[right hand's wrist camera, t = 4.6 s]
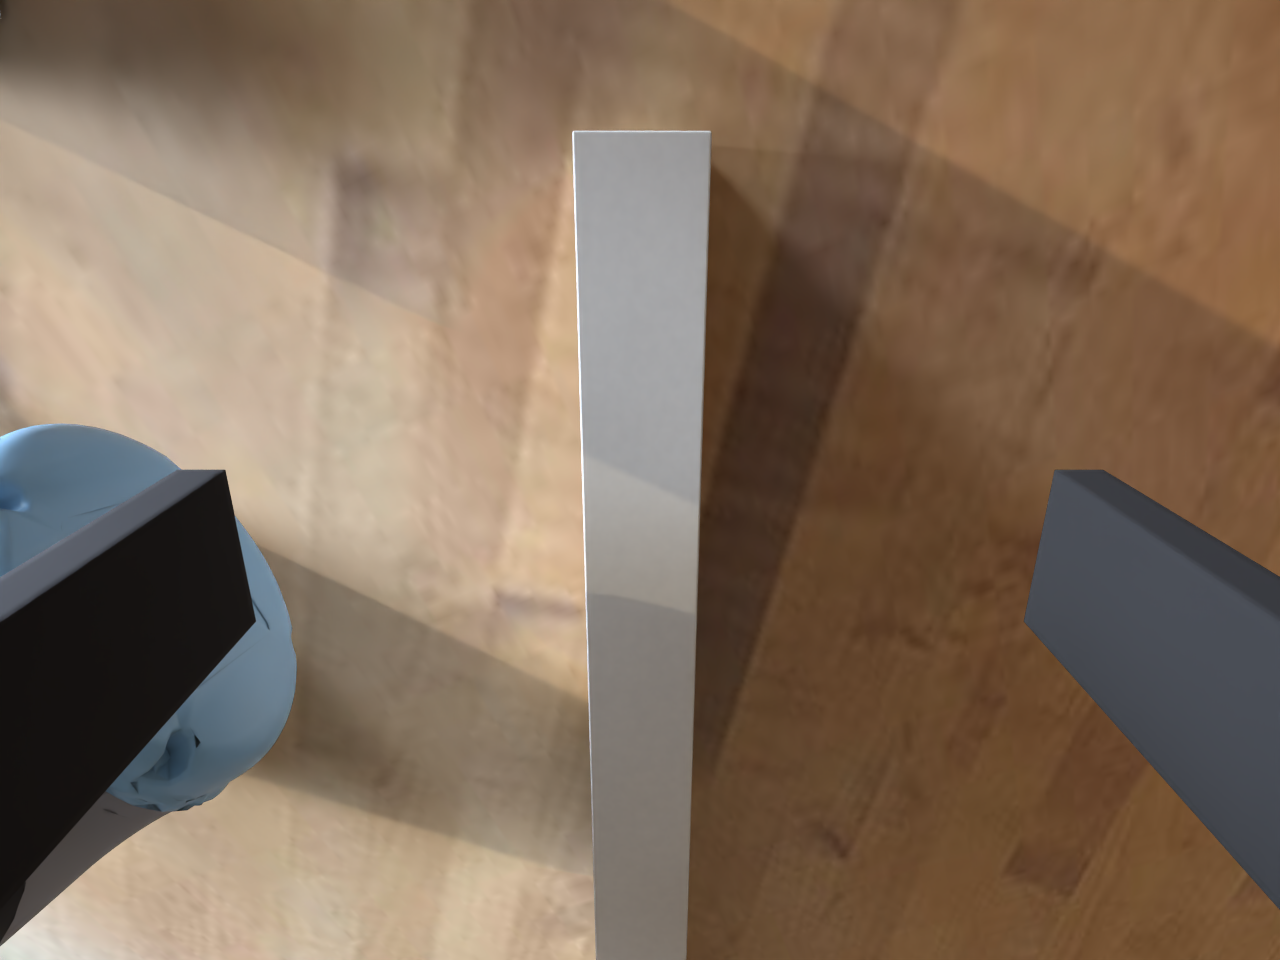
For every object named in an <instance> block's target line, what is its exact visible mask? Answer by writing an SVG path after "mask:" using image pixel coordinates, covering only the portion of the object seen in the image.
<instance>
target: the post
mask: <svg viewBox="0 0 1280 960" xmlns="http://www.w3.org/2000/svg"><path fill="white" fill-rule="evenodd" d="M572 136H573V171H574V206H575V241H576V276H577V311H578V346H579V381H580V416H581V451H582V486H583V522H584V557H585V592H586V627H587V662H588V697H589V732H590V767H591V802H592V837H593V872H594V907H595V942H596V960H686V956H687V924H688V891H689V858H690V826H691V793H692V761H693V728H694V696H695V663H696V630H697V598H698V565H699V533H700V500H701V467H702V435H703V402H704V370H705V337H706V304H707V272H708V239H709V207H710V174H711V142H712V133H711V131H573V133H572Z"/></svg>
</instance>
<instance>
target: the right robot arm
mask: <svg viewBox="0 0 1280 960" xmlns="http://www.w3.org/2000/svg"><path fill="white" fill-rule="evenodd" d="M255 622H256V618H255V613H254V608H253V603H252V598H251V594H250V589H249V584H248V579H247V574H246V569H245V564H244V559H243V554H242V549H241V545H240V540H239V535H238V530H237V525H236V520H235V515H234V510H233V505H232V500H231V496H230V491H229V486H228V481H227V476H226V471H225V470H176V471H174V472H172V473H171V474H169V475H168V476H166V477H164V478H163V479H161V480H159V481H158V482H156V483H154V484H153V485H151V486H149V487H148V488H146V489H144V490H143V491H141V492H140V493H138V494H136V495H135V496H133V497H131V498H130V499H128V500H126V501H125V502H123V503H121V504H120V505H118V506H116V507H115V508H113V509H111V510H110V511H108V512H107V513H105V514H103V515H102V516H100V517H98V518H97V519H95V520H93V521H92V522H90V523H88V524H87V525H85V526H83V527H82V528H80V529H79V530H77V531H75V532H74V533H72V534H70V535H69V536H67V537H65V538H64V539H62V540H60V541H59V542H57V543H55V544H54V545H52V546H50V547H49V548H47V549H46V550H44V551H42V552H41V553H39V554H37V555H36V556H34V557H32V558H31V559H29V560H27V561H26V562H24V563H22V564H21V565H19V566H18V567H16V568H14V569H13V570H11V571H9V572H8V573H6V574H4V575H3V576H1V577H0V909H1V908H2V907H3V906H4V905H5V904H6V903H7V902H8V900H9V899H10V898H11V897H12V896H13V895H14V894H15V893H16V891H17V890H18V889H19V888H20V887H21V886H22V885H23V884H24V882H25V881H26V880H27V879H28V878H29V877H30V876H31V875H32V873H33V872H34V871H35V870H36V869H37V868H38V867H39V866H40V864H41V863H42V862H43V861H44V860H45V859H46V858H47V856H48V855H49V854H50V853H51V852H52V851H53V850H54V849H55V847H56V846H57V845H58V844H59V843H60V842H61V841H62V840H63V838H64V837H65V836H66V835H67V834H68V833H69V832H70V831H71V829H72V828H73V827H74V826H75V825H76V824H77V823H78V822H79V820H80V819H81V818H82V817H83V816H84V815H85V814H86V813H87V811H88V810H89V809H90V808H91V807H92V806H93V805H94V804H95V802H96V801H97V800H98V799H99V798H100V797H101V796H102V795H103V793H104V792H105V791H106V790H107V789H108V788H109V787H110V786H111V784H112V783H113V782H114V781H115V780H116V779H117V778H118V777H119V775H120V774H121V773H122V772H123V771H124V770H125V769H126V767H127V766H128V765H129V764H130V763H131V762H132V761H133V760H134V758H135V757H136V756H137V755H138V754H139V753H140V752H141V751H142V749H143V748H144V747H145V746H146V745H147V744H148V743H149V742H150V740H151V739H152V738H153V737H154V736H155V735H156V734H157V733H158V731H159V730H160V729H161V728H162V727H163V726H164V725H165V724H166V722H167V721H168V720H169V719H170V718H171V717H172V716H173V715H174V713H175V712H176V711H177V710H178V709H179V708H180V707H181V706H182V704H183V703H184V702H185V701H186V700H187V699H188V698H189V697H190V695H191V694H192V693H193V692H194V691H195V690H196V689H197V687H198V686H199V685H200V684H201V683H202V682H203V681H204V680H205V678H206V677H207V676H208V675H209V674H210V673H211V672H212V671H213V669H214V668H215V667H216V666H217V665H218V664H219V663H220V662H221V660H222V659H223V658H224V657H225V656H226V655H227V654H228V653H229V651H230V650H231V649H232V648H233V647H234V646H235V645H236V644H237V642H238V641H239V640H240V639H241V638H242V637H243V636H244V635H245V633H246V632H247V631H248V630H249V629H250V628H251V627H252V626H253V624H254V623H255ZM1024 622H1025V623H1026V624H1027V626H1028V627H1029V628H1030V629H1031V630H1032V631H1033V632H1034V633H1035V635H1036V636H1037V637H1038V638H1039V639H1040V640H1041V641H1042V642H1043V644H1044V645H1045V646H1046V647H1047V648H1048V649H1049V650H1050V651H1051V653H1052V654H1053V655H1054V656H1055V657H1056V658H1057V659H1058V660H1059V662H1060V663H1061V664H1062V665H1063V666H1064V667H1065V668H1066V669H1067V671H1068V672H1069V673H1070V674H1071V675H1072V676H1073V677H1074V678H1075V680H1076V681H1077V682H1078V683H1079V684H1080V685H1081V686H1082V687H1083V689H1084V690H1085V691H1086V692H1087V693H1088V694H1089V695H1090V697H1091V698H1092V699H1093V700H1094V701H1095V702H1096V703H1097V704H1098V706H1099V707H1100V708H1101V709H1102V710H1103V711H1104V712H1105V713H1106V715H1107V716H1108V717H1109V718H1110V719H1111V720H1112V721H1113V722H1114V724H1115V725H1116V726H1117V727H1118V728H1119V729H1120V730H1121V731H1122V733H1123V734H1124V735H1125V736H1126V737H1127V738H1128V739H1129V740H1130V742H1131V743H1132V744H1133V745H1134V746H1135V747H1136V748H1137V749H1138V751H1139V752H1140V753H1141V754H1142V755H1143V756H1144V757H1145V758H1146V760H1147V761H1148V762H1149V763H1150V764H1151V765H1152V766H1153V767H1154V769H1155V770H1156V771H1157V772H1158V773H1159V774H1160V775H1161V777H1162V778H1163V779H1164V780H1165V781H1166V782H1167V783H1168V784H1169V786H1170V787H1171V788H1172V789H1173V790H1174V791H1175V792H1176V793H1177V795H1178V796H1179V797H1180V798H1181V799H1182V800H1183V801H1184V802H1185V804H1186V805H1187V806H1188V807H1189V808H1190V809H1191V810H1192V811H1193V813H1194V814H1195V815H1196V816H1197V817H1198V818H1199V819H1200V820H1201V822H1202V823H1203V824H1204V825H1205V826H1206V827H1207V828H1208V829H1209V831H1210V832H1211V833H1212V834H1213V835H1214V836H1215V837H1216V838H1217V840H1218V841H1219V842H1220V843H1221V844H1222V845H1223V846H1224V847H1225V849H1226V850H1227V851H1228V852H1229V853H1230V854H1231V855H1232V856H1233V858H1234V859H1235V860H1236V861H1237V862H1238V863H1239V864H1240V866H1241V867H1242V868H1243V869H1244V870H1245V871H1246V872H1247V873H1248V875H1249V876H1250V877H1251V878H1252V879H1253V880H1254V881H1255V882H1256V884H1257V885H1258V886H1259V887H1260V888H1261V889H1262V890H1263V891H1264V893H1265V894H1266V895H1267V896H1268V897H1269V898H1270V899H1271V900H1272V902H1273V903H1274V904H1275V905H1276V906H1277V907H1278V908H1279V909H1280V577H1279V576H1277V575H1276V574H1274V573H1272V572H1271V571H1269V570H1267V569H1266V568H1264V567H1262V566H1261V565H1259V564H1258V563H1256V562H1254V561H1253V560H1251V559H1249V558H1248V557H1246V556H1244V555H1243V554H1241V553H1239V552H1238V551H1236V550H1234V549H1233V548H1231V547H1230V546H1228V545H1226V544H1225V543H1223V542H1221V541H1220V540H1218V539H1216V538H1215V537H1213V536H1211V535H1210V534H1208V533H1206V532H1205V531H1203V530H1201V529H1200V528H1198V527H1197V526H1195V525H1193V524H1192V523H1190V522H1188V521H1187V520H1185V519H1183V518H1182V517H1180V516H1178V515H1177V514H1175V513H1173V512H1172V511H1170V510H1169V509H1167V508H1165V507H1164V506H1162V505H1160V504H1159V503H1157V502H1155V501H1154V500H1152V499H1150V498H1149V497H1147V496H1145V495H1144V494H1142V493H1140V492H1139V491H1137V490H1136V489H1134V488H1132V487H1131V486H1129V485H1127V484H1126V483H1124V482H1122V481H1121V480H1119V479H1117V478H1116V477H1114V476H1112V475H1111V474H1109V473H1108V472H1106V471H1104V470H1055V471H1054V476H1053V481H1052V486H1051V491H1050V496H1049V500H1048V505H1047V510H1046V515H1045V520H1044V525H1043V530H1042V535H1041V540H1040V545H1039V549H1038V554H1037V559H1036V564H1035V569H1034V574H1033V579H1032V584H1031V589H1030V594H1029V598H1028V603H1027V608H1026V613H1025V618H1024Z"/></svg>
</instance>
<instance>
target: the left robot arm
mask: <svg viewBox="0 0 1280 960" xmlns="http://www.w3.org/2000/svg"><path fill="white" fill-rule="evenodd" d="M176 470H181V469H180V468H179V467H178V466H177V465H175V464H174V463H173V462H172V461H171V460H170V459H168V458H167V457H166V456H164V455H163V454H161V453H159V452H158V451H156V450H154V449H152V448H150V447H148V446H146V445H144V444H142V443H140V442H138V441H136V440H133V439H131V438H129V437H126V436H124V435H121V434H118V433H115V432H111V431H108V430H104V429H100V428H96V427H90V426H83V425H77V424H45V425H37V426H31V427H27V428H23V429H20V430H17V431H14V432H11V433H8V434H6V435H4V436H2V437H0V577H1V576H3V575H4V574H6V573H8V572H9V571H11V570H13V569H14V568H16V567H18V566H19V565H21V564H22V563H24V562H26V561H27V560H29V559H31V558H32V557H34V556H36V555H37V554H39V553H41V552H42V551H44V550H46V549H47V548H49V547H50V546H52V545H54V544H55V543H57V542H59V541H60V540H62V539H64V538H65V537H67V536H69V535H70V534H72V533H74V532H75V531H77V530H79V529H80V528H82V527H83V526H85V525H87V524H88V523H90V522H92V521H93V520H95V519H97V518H98V517H100V516H102V515H103V514H105V513H107V512H108V511H110V510H111V509H113V508H115V507H116V506H118V505H120V504H121V503H123V502H125V501H126V500H128V499H130V498H131V497H133V496H135V495H136V494H138V493H140V492H141V491H143V490H144V489H146V488H148V487H149V486H151V485H153V484H154V483H156V482H158V481H159V480H161V479H163V478H164V477H166V476H168V475H169V474H171V473H172V472H174V471H176ZM235 520H236V525H237V530H238V535H239V540H240V545H241V549H242V554H243V559H244V564H245V569H246V574H247V579H248V584H249V589H250V594H251V598H252V603H253V608H254V613H255V618H256V622H255V623H254V624H253V626H252V627H251V628H250V629H249V630H248V631H247V632H246V633H245V635H244V636H243V637H242V638H241V639H240V640H239V641H238V642H237V644H236V645H235V646H234V647H233V648H232V649H231V650H230V651H229V653H228V654H227V655H226V656H225V657H224V658H223V659H222V660H221V662H220V663H219V664H218V665H217V666H216V667H215V668H214V669H213V671H212V672H211V673H210V674H209V675H208V676H207V677H206V678H205V680H204V681H203V682H202V683H201V684H200V685H199V686H198V687H197V689H196V690H195V691H194V692H193V693H192V694H191V695H190V697H189V698H188V699H187V700H186V701H185V702H184V703H183V704H182V706H181V707H180V708H179V709H178V710H177V711H176V712H175V713H174V715H173V716H172V717H171V718H170V719H169V720H168V721H167V722H166V724H165V725H164V726H163V727H162V728H161V729H160V730H159V731H158V733H157V734H156V735H155V736H154V737H153V738H152V739H151V740H150V742H149V743H148V744H147V745H146V746H145V747H144V748H143V749H142V751H141V752H140V753H139V754H138V755H137V756H136V757H135V758H134V760H133V761H132V762H131V763H130V764H129V765H128V766H127V767H126V769H125V770H124V771H123V772H122V773H121V774H120V775H119V777H118V778H117V779H116V780H115V781H114V782H113V783H112V784H111V786H110V787H109V788H108V789H107V790H106V791H105V792H104V793H103V795H102V796H101V797H100V798H99V799H98V800H97V801H96V802H95V804H94V805H93V806H92V807H91V808H90V809H89V810H88V811H87V813H86V814H85V815H84V816H83V817H82V818H81V819H80V820H79V822H78V823H77V824H76V825H75V826H74V827H73V828H72V829H71V831H70V832H69V833H68V834H67V835H66V836H65V837H64V838H63V840H62V841H61V842H60V843H59V844H58V845H57V846H56V847H55V849H54V850H53V851H52V852H51V853H50V854H49V855H48V856H47V858H46V859H45V860H44V861H43V862H42V863H41V864H40V866H39V867H38V868H37V869H36V870H35V871H34V872H33V873H32V875H31V876H30V877H29V878H28V879H27V880H26V881H25V882H24V884H23V885H22V886H21V887H20V888H19V889H18V890H17V891H16V893H15V894H14V895H13V896H12V897H11V898H10V899H9V900H8V902H7V903H6V904H5V905H4V906H3V907H2V908H1V909H0V946H1V945H2V944H3V943H5V942H6V941H7V940H8V939H9V938H10V937H11V936H13V935H14V934H15V933H16V932H17V931H18V930H19V929H21V928H22V927H23V926H24V925H25V924H26V923H27V922H29V921H30V920H31V919H32V918H33V917H34V916H35V915H37V914H38V913H39V912H40V911H41V910H42V909H43V908H44V907H46V906H47V905H48V904H49V903H50V902H51V901H52V900H54V899H55V898H56V897H57V896H58V895H59V894H60V893H61V892H63V891H64V890H65V889H66V888H67V887H68V886H69V885H70V884H72V883H73V882H74V881H75V880H76V879H77V878H78V877H79V876H81V875H82V874H83V873H84V872H85V871H86V870H87V869H89V868H90V867H91V866H92V865H93V864H94V863H96V862H97V861H98V860H99V859H101V858H102V857H103V856H104V855H106V854H107V853H108V852H110V851H111V850H112V849H114V848H115V847H116V846H118V845H119V844H120V843H122V842H123V841H125V840H126V839H127V838H129V837H130V836H132V835H133V834H135V833H136V832H138V831H139V830H141V829H142V828H144V827H145V826H147V825H149V824H150V823H152V822H153V821H155V820H157V819H159V818H160V817H162V816H164V815H166V814H168V813H170V812H172V811H183V810H188V809H190V808H191V807H193V806H194V805H202V803H203V802H206V801H209V800H211V799H213V798H215V797H216V796H217V795H218V794H220V792H221V791H222V790H223V789H224V788H225V787H226V786H227V784H228V783H229V782H230V781H232V780H233V779H235V778H237V777H238V776H240V775H242V774H243V773H244V772H246V771H247V770H249V769H250V768H252V767H253V766H254V765H255V764H256V763H257V762H259V761H260V760H261V759H262V758H263V757H264V756H265V755H266V754H267V753H268V751H269V750H270V749H271V747H272V746H273V745H274V743H275V742H276V740H277V739H278V737H279V735H280V734H281V732H282V730H283V728H284V726H285V724H286V721H287V719H288V716H289V713H290V710H291V707H292V703H293V699H294V693H295V686H296V673H297V663H296V654H295V651H294V648H293V644H292V640H291V633H292V625H291V621H290V617H289V614H288V610H287V607H286V604H285V601H284V599H283V596H282V593H281V591H280V588H279V586H278V583H277V581H276V579H275V577H274V575H273V573H272V571H271V569H270V567H269V565H268V563H267V562H266V560H265V558H264V556H263V555H262V553H261V551H260V550H259V548H258V547H257V545H256V544H255V542H254V541H253V539H252V538H251V536H250V535H249V534H248V532H247V531H246V529H245V528H244V527H243V525H242V524H241V523H240V522H239V520H238V519H237V518H236V517H235Z"/></svg>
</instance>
